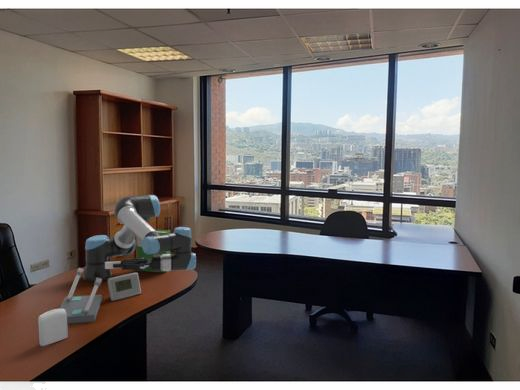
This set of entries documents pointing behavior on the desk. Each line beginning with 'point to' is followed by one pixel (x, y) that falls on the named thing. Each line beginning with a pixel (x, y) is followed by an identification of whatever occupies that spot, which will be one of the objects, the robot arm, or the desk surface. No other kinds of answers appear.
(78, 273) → the lever
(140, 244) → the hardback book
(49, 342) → the photo printer
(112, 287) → the digital clock
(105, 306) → the desk surface
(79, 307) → the switch unit
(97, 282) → the lever
